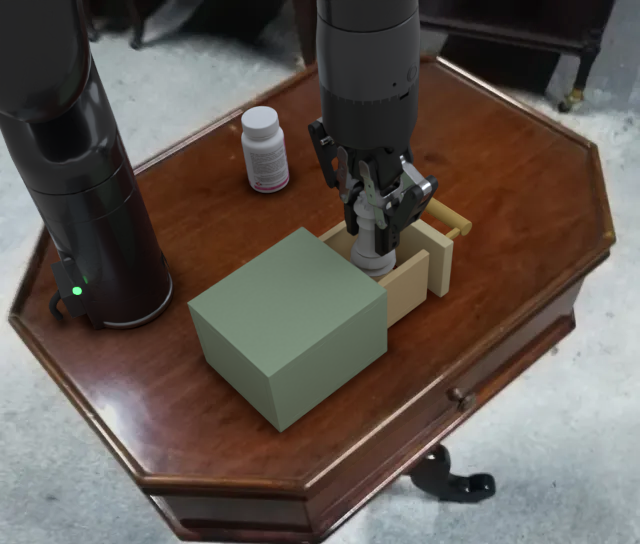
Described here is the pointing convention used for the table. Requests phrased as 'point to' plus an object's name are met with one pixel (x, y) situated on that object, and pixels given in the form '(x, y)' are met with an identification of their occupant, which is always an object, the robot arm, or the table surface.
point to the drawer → (412, 259)
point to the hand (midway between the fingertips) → (372, 239)
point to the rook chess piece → (369, 242)
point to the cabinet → (291, 326)
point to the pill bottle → (264, 149)
